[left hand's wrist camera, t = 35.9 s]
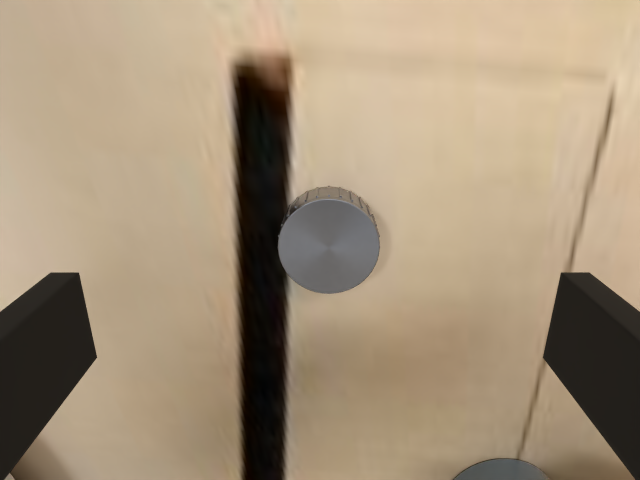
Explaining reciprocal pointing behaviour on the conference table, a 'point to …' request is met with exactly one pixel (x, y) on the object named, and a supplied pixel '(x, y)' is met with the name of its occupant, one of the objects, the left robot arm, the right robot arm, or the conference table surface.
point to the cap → (328, 240)
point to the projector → (9, 477)
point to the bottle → (502, 471)
